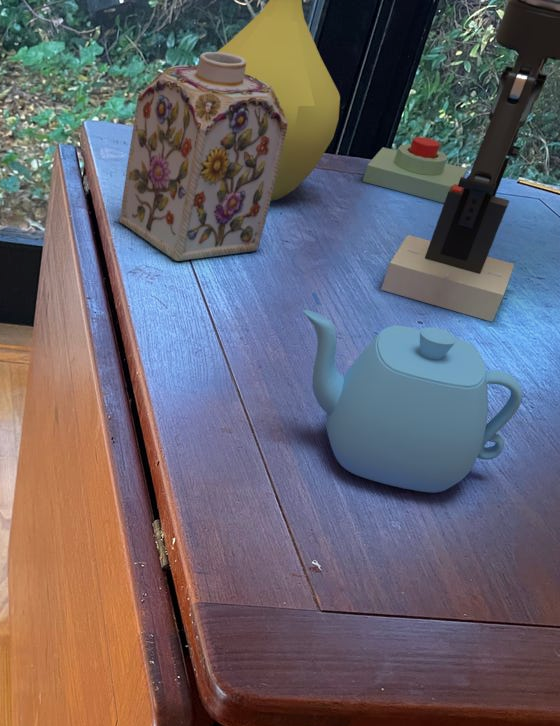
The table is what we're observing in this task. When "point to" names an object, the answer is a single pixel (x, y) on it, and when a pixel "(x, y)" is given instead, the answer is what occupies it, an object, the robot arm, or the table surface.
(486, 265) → the beige flat block
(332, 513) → the table surface
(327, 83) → the vase
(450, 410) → the teapot
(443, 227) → the dark grey block
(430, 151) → the power button
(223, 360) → the table surface
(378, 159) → the block
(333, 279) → the table surface
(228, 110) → the decorative jar
